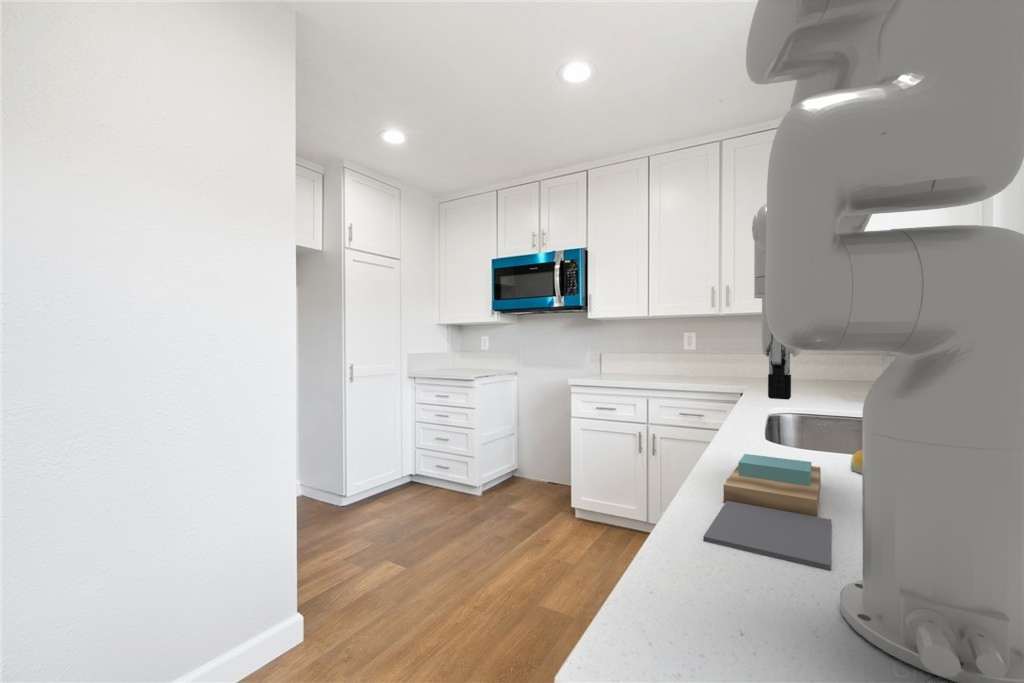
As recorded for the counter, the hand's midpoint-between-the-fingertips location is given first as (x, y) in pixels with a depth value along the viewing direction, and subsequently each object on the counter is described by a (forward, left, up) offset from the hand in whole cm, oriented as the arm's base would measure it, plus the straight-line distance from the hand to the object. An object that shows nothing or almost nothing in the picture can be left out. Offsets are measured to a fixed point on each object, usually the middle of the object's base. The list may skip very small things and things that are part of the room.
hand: (779, 398), depth 77 cm
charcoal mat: (-26, -1, -13) cm, 29 cm away
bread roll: (+12, -14, -14) cm, 23 cm away
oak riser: (-10, 0, -13) cm, 16 cm away
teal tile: (-10, 0, -10) cm, 13 cm away
